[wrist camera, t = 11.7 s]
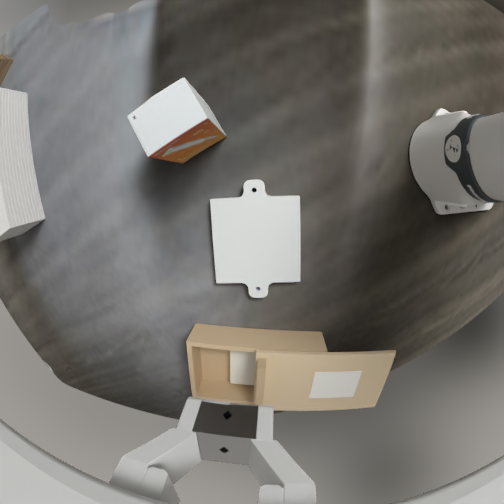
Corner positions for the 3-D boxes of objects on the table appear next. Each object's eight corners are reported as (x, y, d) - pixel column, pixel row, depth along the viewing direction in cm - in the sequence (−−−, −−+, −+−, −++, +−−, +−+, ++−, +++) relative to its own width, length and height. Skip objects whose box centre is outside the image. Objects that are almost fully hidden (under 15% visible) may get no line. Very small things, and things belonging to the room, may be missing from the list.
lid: (394, 349, 38) (401, 361, 35) (373, 404, 41) (378, 416, 38) (256, 349, 39) (255, 362, 36) (252, 406, 43) (251, 419, 40)
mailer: (321, 331, 45) (327, 350, 39) (310, 385, 48) (313, 406, 42) (195, 323, 46) (186, 341, 40) (199, 378, 50) (192, 397, 44)
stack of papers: (46, 218, 44) (9, 228, 34) (22, 234, 46) (-10, 244, 35) (27, 93, 37) (-4, 86, 27) (5, 116, 38) (-25, 114, 28)
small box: (183, 164, 40) (146, 158, 27) (165, 132, 38) (124, 116, 26) (228, 137, 38) (208, 117, 26) (208, 104, 37) (183, 75, 24)
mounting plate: (211, 182, 40) (209, 182, 39) (297, 178, 39) (299, 178, 38) (219, 293, 45) (217, 297, 43) (298, 292, 44) (299, 296, 42)
